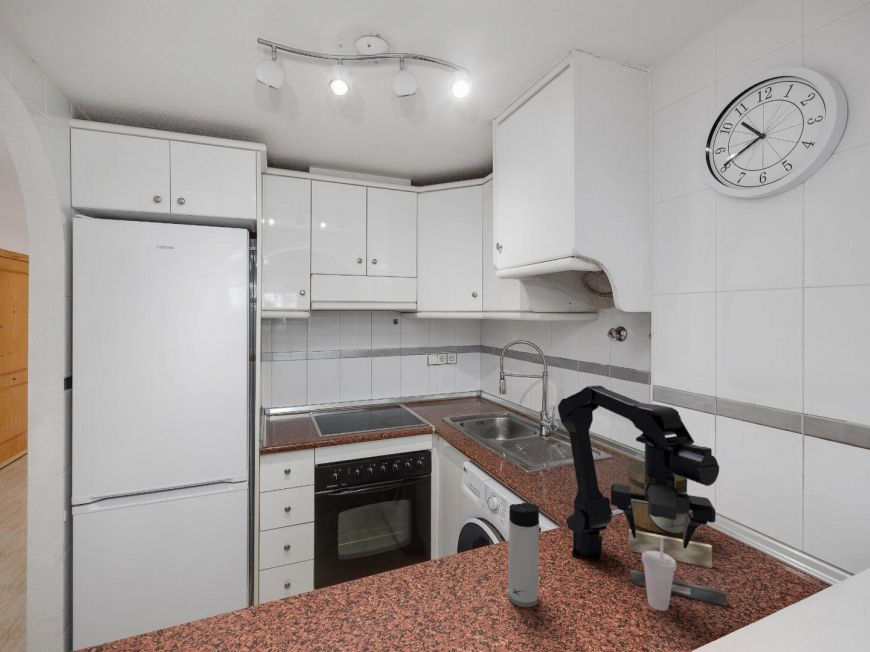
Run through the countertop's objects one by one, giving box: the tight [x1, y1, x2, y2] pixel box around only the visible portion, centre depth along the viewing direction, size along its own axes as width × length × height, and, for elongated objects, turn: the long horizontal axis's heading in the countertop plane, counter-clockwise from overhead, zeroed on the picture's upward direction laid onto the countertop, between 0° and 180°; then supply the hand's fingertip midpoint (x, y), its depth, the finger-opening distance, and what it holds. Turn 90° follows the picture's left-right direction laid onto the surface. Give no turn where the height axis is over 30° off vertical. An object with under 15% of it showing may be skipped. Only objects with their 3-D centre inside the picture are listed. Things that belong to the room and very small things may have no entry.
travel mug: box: [507, 502, 540, 608], centre depth 86 cm, size 6×7×20 cm
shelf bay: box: [628, 529, 728, 607], centre depth 95 cm, size 18×16×5 cm
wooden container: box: [625, 461, 688, 540], centre depth 113 cm, size 15×15×22 cm
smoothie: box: [641, 538, 677, 612], centre depth 85 cm, size 6×6×14 cm
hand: (659, 542), depth 85 cm, fingers open, 9 cm apart
